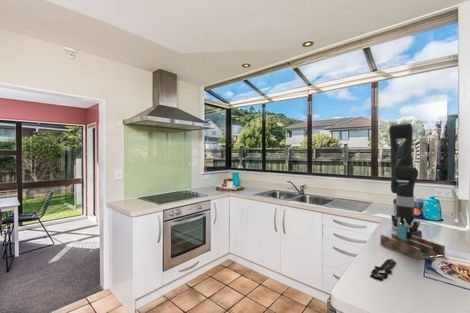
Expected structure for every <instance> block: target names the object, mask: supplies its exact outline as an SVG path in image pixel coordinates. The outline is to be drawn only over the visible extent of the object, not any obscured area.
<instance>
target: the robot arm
mask: <svg viewBox="0 0 470 313" xmlns="http://www.w3.org/2000/svg"><path fill="white" fill-rule="evenodd" d="M413 133H414V131H413V126H412V123H411V122H410V123H409V122H405V123H404V122H403V123H394V124H391V125H390V126H389V132H388V134H389V142H390V170H391V173H390V174H391V176H390V177H391V178H390V191H391V192H392V194H396V198H393V201H392V202H393V203H392V204H393V208H392V209H393V211H392V214H391V215H390V217H391V228H392V229H393V230H396V231H398V225H403V224H405V227H407V239H411V238H412V232H417V230H419V227H420V224H421V222H420V221H419V220H416V219H415V218H414V215H415V199H414V198H415V196H414V192H415V190H414V189H415V188H414V187H415V185H416V182H417V179H418V177H419V170H418V169H417V167H415V166H412V165H413V155H412V148H413ZM403 139H404V141H403V142H402V144H401V145H400V144H399V142H398V140H403ZM409 227H410V228H409Z"/></svg>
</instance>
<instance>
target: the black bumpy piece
mask: <svg viewBox="0 0 470 313" xmlns="http://www.w3.org/2000/svg"><path fill="white" fill-rule="evenodd" d="M396 264H397V262H396V261H395V260H394V259H393V258H390V259H386V260H385V261H384V262H383V263H382V264H381V265H380V266H377V265H375V266H374V268H373V269H372V271H371V272H370V273H371V274H370V275H369V277H370V278H372V279H375V280H378V281H380V282H383V280H384V279H385V280H386V279H387V278H388V276H389V275H392V274H393V271H392V269H393V268H394V266H395V265H396ZM378 270H379V271H378ZM381 270H383V271H384V272H382V271H381ZM380 271H381V272H380ZM388 274H389V275H388ZM383 278H384V279H383Z"/></svg>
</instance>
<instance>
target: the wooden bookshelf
mask: <svg viewBox="0 0 470 313" xmlns="http://www.w3.org/2000/svg"><path fill="white" fill-rule="evenodd" d="M379 241H380V243H379V244H380V245H383V246H384V247H386V248H387V247H388V248H389V249H392V250H394V251H396V252H398V253H401V254H404V255H405V256H408V257H411V258H413V259H415V260H418V261H419V260H425V258H426V257H430V256H437V255H446V253H445V252H446V249H445V248H446V247H445V245H444V244H441V243H437V242H434V241H431V240H428V239H426V238H423V237H422V238H420V237H417V236H414V235H412V238H411V240H406V241H405V240H403V239H400V238H398V234H397V233H391V236H387V235H385V234H380V240H379ZM426 259H427V258H426Z"/></svg>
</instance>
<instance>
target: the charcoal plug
mask: <svg viewBox="0 0 470 313" xmlns="http://www.w3.org/2000/svg"><path fill="white" fill-rule="evenodd" d="M422 233H423V231H422V230H420V229H417V232H412V235H414V236H417V237H420V238H423V234H422Z"/></svg>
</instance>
